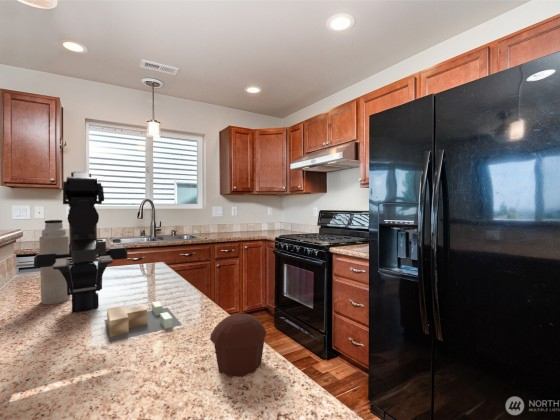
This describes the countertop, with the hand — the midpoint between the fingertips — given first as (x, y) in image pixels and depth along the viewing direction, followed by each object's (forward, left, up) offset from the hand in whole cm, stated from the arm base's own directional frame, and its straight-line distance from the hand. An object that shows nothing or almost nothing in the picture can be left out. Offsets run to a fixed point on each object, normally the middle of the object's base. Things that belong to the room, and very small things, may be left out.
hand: (84, 290), depth 73 cm
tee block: (+9, 0, -11) cm, 14 cm away
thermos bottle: (-8, +40, -12) cm, 43 cm away
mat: (+13, 0, -12) cm, 18 cm away
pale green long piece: (+18, 0, -11) cm, 21 cm away
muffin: (+26, -33, -12) cm, 44 cm away
